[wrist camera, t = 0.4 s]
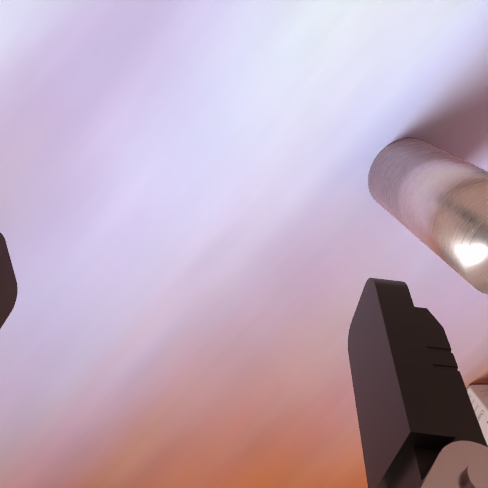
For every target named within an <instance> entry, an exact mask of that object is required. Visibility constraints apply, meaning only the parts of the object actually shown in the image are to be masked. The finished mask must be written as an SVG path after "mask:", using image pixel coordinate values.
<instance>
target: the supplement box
mask: <svg viewBox="0 0 488 488" xmlns="http://www.w3.org/2000/svg"><path fill="white" fill-rule="evenodd" d="M467 393H468V395H469V398H470V401H471V403H472V406H473V409H474V411H475V414H476V417H477V419H478V422H479V425H480V428H481V430H482V433H483V436H484V438H485V441H486V443H487V445H488V385H481V384H480V385H470V386H469V388H468V391H467Z"/></svg>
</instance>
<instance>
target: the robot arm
mask: <svg viewBox="0 0 488 488" xmlns="http://www.w3.org/2000/svg"><path fill="white" fill-rule="evenodd" d="M16 298H17V282H16V278H15V274H14V271H13V267H12V263H11V260H10V256H9V252H8V249H7V245H6V241H5V238H4V236H3V235H2V234H1V233H0V328H1V327H2V325H3V324H4V322H5V321H6V319H7V317H8V316H9V314H10V313H11V311H12V309H13V307H14V305H15V302H16ZM348 353H349V360H350V367H351V374H352V380H353V387H354V394H355V401H356V408H357V415H358V421H359V428H360V435H361V442H362V449H363V455H364V462H365V469H366V476H367V483H368V488H488V445H487V443H486V441H485V438H484V436H483V433H482V430H481V428H480V425H479V422H478V419H477V417H476V414H475V411H474V409H473V406H472V403H471V401H470V398H469V395H468V393H467V390H466V387H465V385H464V382H463V379H462V377H461V374H460V371H458V370H457V368H458V366H457V363H456V361H455V358H454V355H453V353H451V347H450V344H449V342H448V339H447V336H446V334H445V331H444V328H443V327H442V326H441V325H440V323H439V322H438V321H437V320H436V319H435V317H434V316H433V315H432V314H431V313H430V312H429V310H428V309H427V308H419V307H414V305H413V302H412V298H411V295H410V292H409V289H408V286H407V285H406V283H405V282H401V281H393V280H384V279H376V278H369V279H368V280H367V282H366V284H365V286H364V289H363V292H362V295H361V297H360V300H359V303H358V306H357V308H356V311H355V314H354V317H353V319H352V322H351V325H350V329H349V336H348Z"/></svg>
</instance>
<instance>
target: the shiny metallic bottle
mask: <svg viewBox="0 0 488 488" xmlns="http://www.w3.org/2000/svg"><path fill="white" fill-rule="evenodd" d="M368 186H369V190H370V193H371V195H372V197H373V198H374V200H375V201H376V202H377V203H379V204H380V205H381V206H382V207H383V208H384V209H385V210H387V211H388V212H389V213H390V214H391V215H392V216H393V217H395V218H396V219H397V220H398V221H399V222H400V223H401V224H403V225H404V226H405V227H406V228H407V229H408V230H409V231H411V232H412V233H413V234H414V235H415V236H416V237H417V238H419V239H420V240H421V241H422V242H423V243H424V244H425V245H427V246H428V247H429V248H430V249H431V250H432V251H433V252H435V253H436V254H437V255H438V256H439V257H440V258H441V259H443V260H444V261H445V262H446V263H447V264H448V265H449V266H451V267H452V268H453V269H454V270H455V271H456V272H457V273H459V274H460V275H461V276H462V277H463V278H464V279H465V280H467V281H468V282H469V283H470V284H471V285H472V286H474V287H475V288H476V289H477V290H479V291H480V292H482V293H485V294H488V171H485V170H483V169H481V168H479V167H477V166H475V165H473V164H471V163H469V162H466V161H464V160H462V159H460V158H458V157H456V156H454V155H452V154H449V153H447V152H445V151H443V150H441V149H439V148H437V147H435V146H432V145H430V144H428V143H426V142H424V141H422V140H419V139H414V138H406V139H401V140H398V141H395V142H393V143H391V144H390V145H388V146H387V147H385V148H384V149H383V150H382V151H381V152H380V153H379V154H378V155H377V157H376V158H375V160H374V161H373V163H372V165H371V168H370V171H369V176H368Z"/></svg>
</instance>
